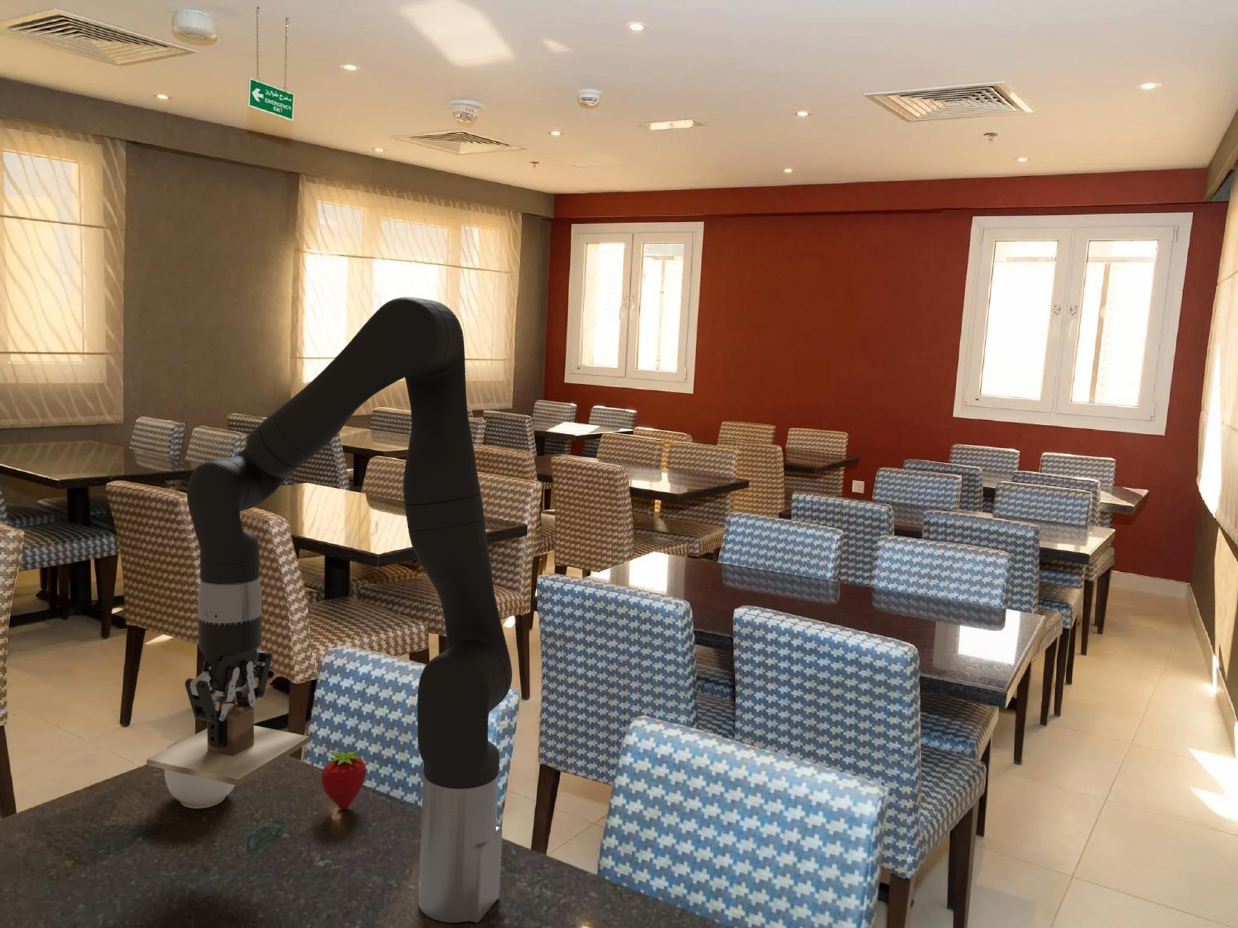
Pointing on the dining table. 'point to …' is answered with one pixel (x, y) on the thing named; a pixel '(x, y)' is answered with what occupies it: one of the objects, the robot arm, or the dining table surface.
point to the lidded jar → (196, 788)
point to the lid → (230, 750)
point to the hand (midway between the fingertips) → (231, 739)
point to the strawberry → (343, 778)
